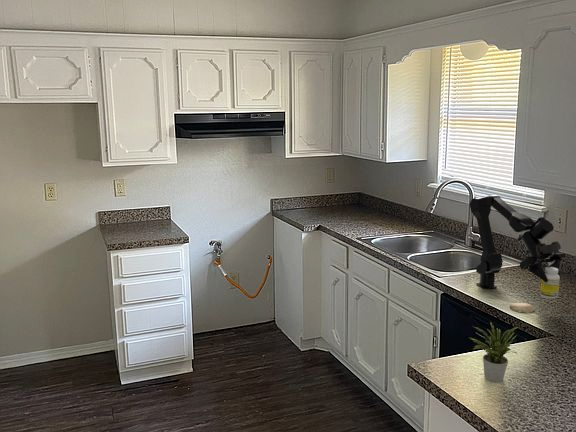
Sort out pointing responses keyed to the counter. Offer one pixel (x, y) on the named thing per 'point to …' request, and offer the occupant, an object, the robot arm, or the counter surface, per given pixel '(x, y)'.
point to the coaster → (522, 307)
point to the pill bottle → (550, 283)
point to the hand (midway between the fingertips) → (553, 280)
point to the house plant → (495, 354)
